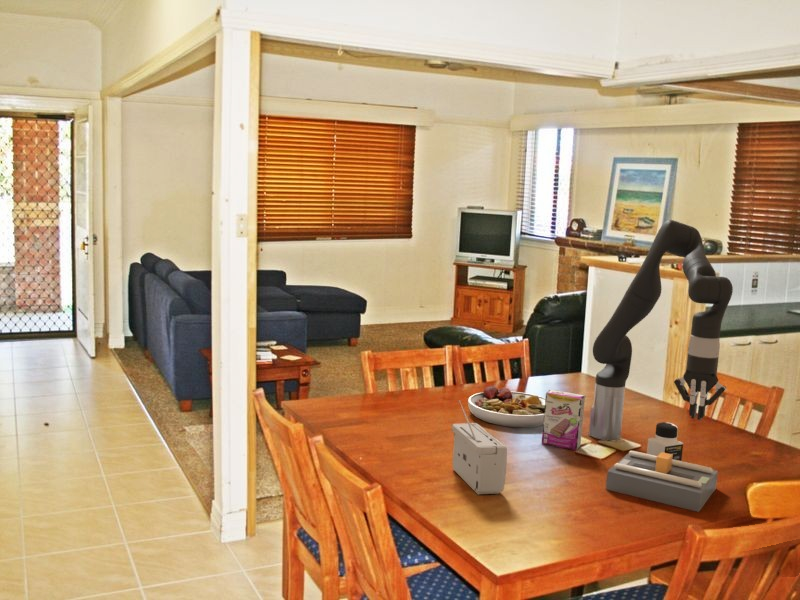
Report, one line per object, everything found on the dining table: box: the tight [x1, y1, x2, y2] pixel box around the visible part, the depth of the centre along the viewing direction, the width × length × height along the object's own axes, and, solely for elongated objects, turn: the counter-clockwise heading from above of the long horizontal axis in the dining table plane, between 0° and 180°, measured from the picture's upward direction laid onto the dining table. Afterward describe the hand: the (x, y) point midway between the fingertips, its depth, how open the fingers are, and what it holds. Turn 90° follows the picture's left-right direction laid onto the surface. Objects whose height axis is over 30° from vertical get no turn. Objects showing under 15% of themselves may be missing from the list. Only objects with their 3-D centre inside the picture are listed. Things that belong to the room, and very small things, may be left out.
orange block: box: [655, 452, 673, 474], centre depth 228 cm, size 3×5×4 cm, turn 148°
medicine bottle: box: [646, 421, 684, 461], centre depth 248 cm, size 7×7×12 cm
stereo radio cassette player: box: [451, 400, 508, 495], centre depth 226 cm, size 21×8×20 cm, turn 17°
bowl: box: [467, 385, 546, 428], centre depth 290 cm, size 30×30×8 cm
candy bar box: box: [541, 389, 586, 451], centre depth 260 cm, size 11×5×16 cm, turn 65°
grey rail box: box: [605, 450, 719, 513], centre depth 229 cm, size 24×20×7 cm
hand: (696, 418), depth 222 cm, fingers closed
